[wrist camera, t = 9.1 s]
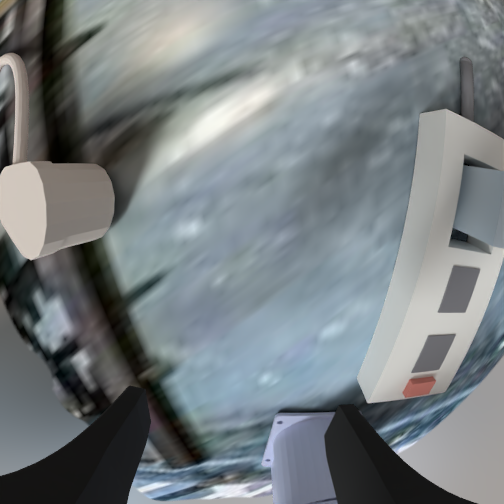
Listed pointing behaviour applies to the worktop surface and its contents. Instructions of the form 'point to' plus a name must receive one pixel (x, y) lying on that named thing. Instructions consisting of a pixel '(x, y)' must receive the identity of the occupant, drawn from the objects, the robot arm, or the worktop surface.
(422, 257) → the power strip
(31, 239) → the toilet paper hanger
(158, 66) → the worktop surface
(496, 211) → the block
